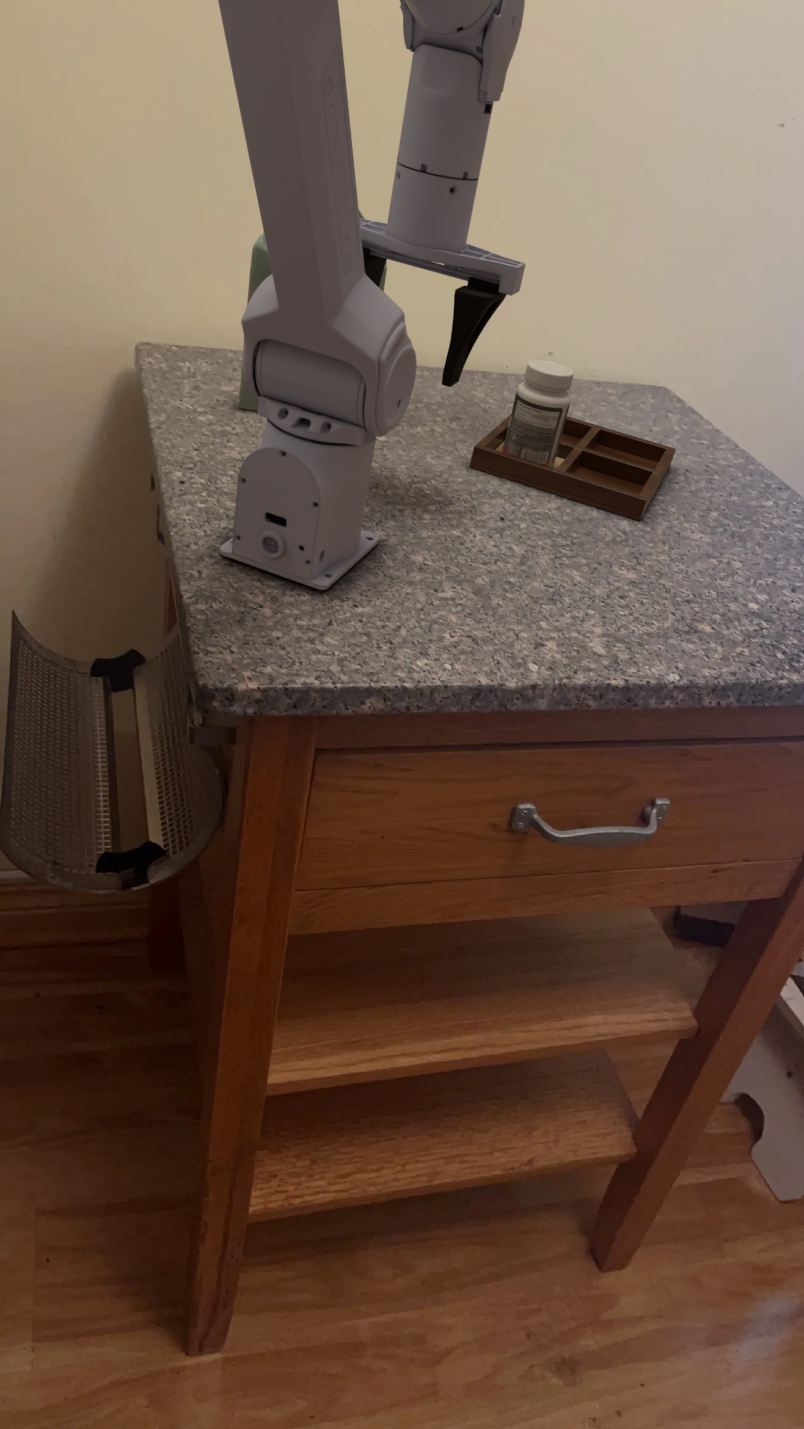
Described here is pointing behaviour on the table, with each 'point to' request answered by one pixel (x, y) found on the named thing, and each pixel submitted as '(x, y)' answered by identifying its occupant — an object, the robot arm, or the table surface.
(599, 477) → the tray
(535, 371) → the pill bottle
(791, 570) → the table surface
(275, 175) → the robot arm
